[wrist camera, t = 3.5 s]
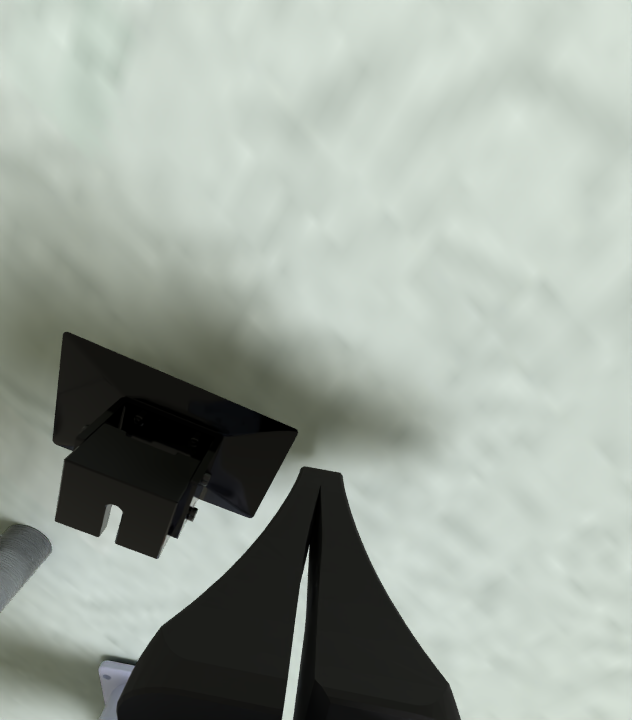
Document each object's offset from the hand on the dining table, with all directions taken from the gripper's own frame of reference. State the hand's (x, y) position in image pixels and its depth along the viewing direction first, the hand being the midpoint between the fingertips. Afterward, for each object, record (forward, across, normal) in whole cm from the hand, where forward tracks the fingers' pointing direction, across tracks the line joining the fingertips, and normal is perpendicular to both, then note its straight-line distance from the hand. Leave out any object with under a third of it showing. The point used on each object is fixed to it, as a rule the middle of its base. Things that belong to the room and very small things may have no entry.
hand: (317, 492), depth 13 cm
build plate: (+3, +6, +1) cm, 7 cm away
